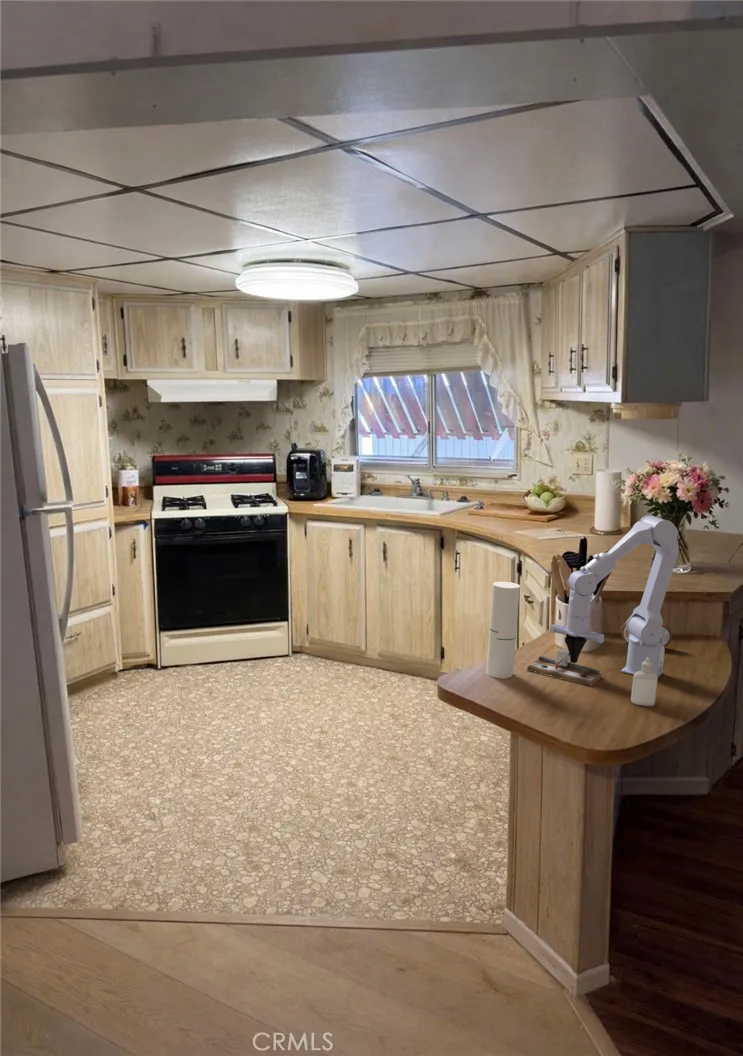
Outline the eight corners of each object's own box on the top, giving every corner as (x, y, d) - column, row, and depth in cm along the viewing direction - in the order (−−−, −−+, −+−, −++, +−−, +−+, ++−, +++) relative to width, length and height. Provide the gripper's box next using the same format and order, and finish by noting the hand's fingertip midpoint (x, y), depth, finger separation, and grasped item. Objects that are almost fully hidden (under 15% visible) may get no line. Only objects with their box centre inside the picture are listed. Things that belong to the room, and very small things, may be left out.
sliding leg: (570, 664, 212) (571, 650, 211) (561, 671, 206) (562, 657, 205) (560, 661, 214) (561, 648, 213) (550, 668, 207) (551, 654, 207)
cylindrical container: (496, 667, 211) (503, 580, 207) (517, 674, 206) (525, 585, 202) (481, 672, 206) (487, 583, 202) (502, 680, 201) (509, 589, 197)
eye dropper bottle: (651, 709, 187) (656, 662, 185) (628, 702, 190) (633, 657, 188) (656, 704, 190) (661, 658, 188) (634, 697, 193) (639, 653, 191)
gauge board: (601, 677, 207) (603, 665, 207) (591, 686, 200) (592, 674, 199) (539, 662, 217) (540, 650, 216) (527, 670, 210) (528, 658, 209)
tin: (670, 648, 235) (673, 622, 234) (670, 651, 232) (673, 625, 231) (619, 641, 240) (622, 616, 238) (619, 644, 237) (622, 618, 235)
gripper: (547, 612, 208) (543, 659, 210) (600, 623, 200) (595, 672, 202) (557, 607, 214) (552, 653, 216) (608, 617, 206) (603, 665, 208)
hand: (573, 662), depth 210 cm, fingers closed
